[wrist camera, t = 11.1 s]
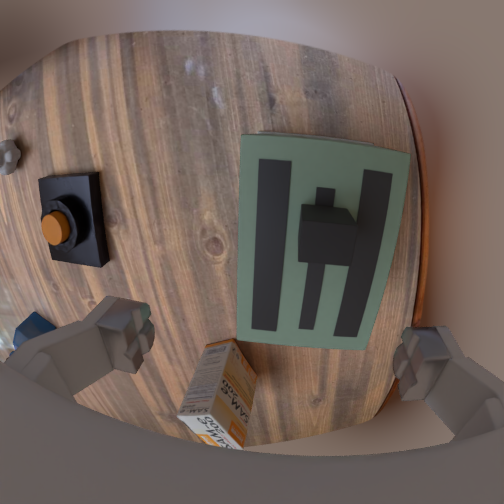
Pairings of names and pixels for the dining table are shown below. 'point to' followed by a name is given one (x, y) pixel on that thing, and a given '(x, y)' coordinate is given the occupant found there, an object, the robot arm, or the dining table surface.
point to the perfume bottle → (31, 329)
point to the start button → (55, 227)
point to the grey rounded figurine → (8, 157)
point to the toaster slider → (326, 235)
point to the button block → (77, 217)
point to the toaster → (286, 238)
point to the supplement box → (220, 396)
